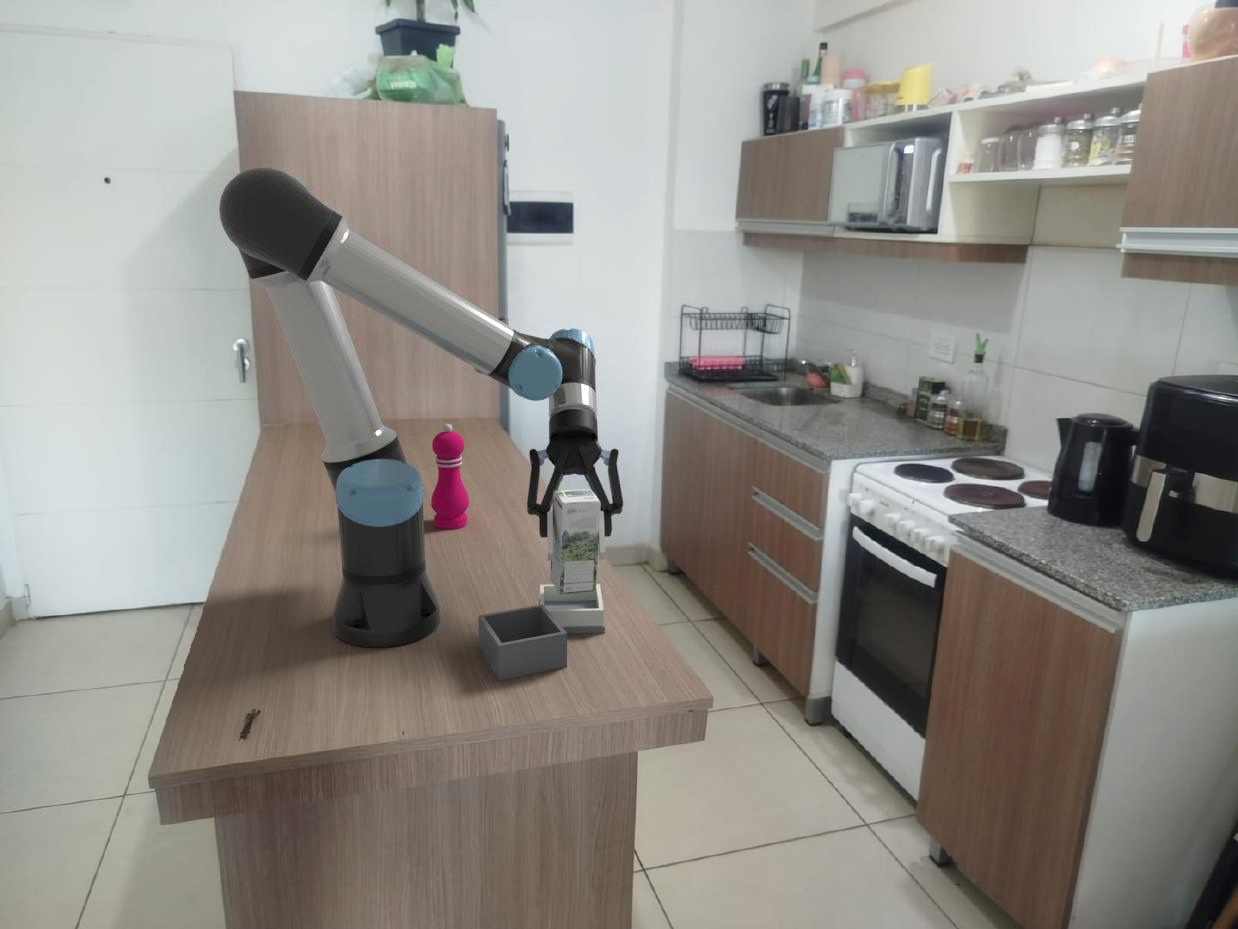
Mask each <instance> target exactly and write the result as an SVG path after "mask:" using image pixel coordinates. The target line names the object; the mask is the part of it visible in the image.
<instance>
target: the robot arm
mask: <svg viewBox="0 0 1238 929" xmlns="http://www.w3.org/2000/svg"><path fill="white" fill-rule="evenodd" d="M218 211H219V220H220V222H221V226H222V228H223V230H224V232H225V234H226V236H227V238H228V239H229V240H230V242H232V244H233V245H234V246H235V247H237V249H238V252H239V253H240V254H239V255H240V256H241V258H242V262H243V264H244V266H245V268H246V272H247V274H248V276H249V279H250V281H251V282H252V283H253V284H257V285H259V286H261V287H262V288H263V289H264V290H266V291H267V294H268V296H269V299H270V301H271V304H272V307H273V309H274V312H275V314H276V316H277V317H276V318H277V319H278V321H279V324H280V327H281V329H282V332H283V334H284V337H285V339H286V342H287V344H288V347H289V350H290V352H291V354H292V357H293V360H294V362H295V365H296V367H297V370H298V372H299V375H300V378H301V380H302V383H303V385H304V388H305V390H306V393H307V396H308V398H309V401H310V402H311V406H312V408H313V410H314V413H315V416H316V419H317V421H318V424H319V426H320V428H321V429H320V430H321V431H322V434H323V437H324V440H325V441H326V446H325V448H324V450H323V451H322V453H321V459H322V462H323V465H324V468H325V470H326V473H327V475H328V479H329V481H330V483H331V486H332V488H333V490H334V494H335V502H336V505H337V516H338V519H337V520H338V532H339V543H340V545H339V546H340V559H341V569H342V570H341V571H342V572H341V574H342V580H341V583H340V586H339V590H338V593H337V598H336V601H335V603H334V608H333V611H332V629H333V632H334V634H335V636H336V637H337V638H338V639H339V640H341V641H343V642H345V643H347V644H350V645H354V646H357V647H358V646H359V647H363V648H365V647H366V648H388V647H394V646H400V645H404V644H409V643H412V642H415V641H418V640H420V639H423V638H424V637H427V636H428V635H429V634H431V633H432V632H434V631H435V630H436V629H437V628H438V626H439V624H440V622H441V611H440V608H441V607H440V603H439V599H438V597H437V595H436V592H435V589H434V588H433V587H434V586H433V585H432V583H431V580H430V578H429V576H428V573H427V566H426V563H427V562H426V542H425V541H426V540H425V520H424V518H425V517H424V498H425V488H424V486H423V482H422V481H423V480H422V476H421V474H420V472H419V470H417V468H416V467H414V466H413V465H411V464H409V463H408V461H407V460H406V456H405V454H404V451H403V449H402V446H401V443H400V441H399V438H398V435H397V432H396V431H395V430H394V429H391V428H390V427H387V426H385V425H384V424H383V423H382V419H381V417H380V415H379V412H378V409H377V405H376V403H375V401H374V398H373V396H372V393H371V389H370V387H369V385H368V382H367V379H366V376H365V373H364V371H363V368H362V365H361V363H360V360H359V357H358V354H357V350H356V348H355V346H354V343H353V340H352V337H351V334H350V332H349V329H348V326H347V324H346V321H345V318H344V315H343V312H342V311H341V310H342V309H341V307H340V305H339V301H338V299H337V296H336V294H335V291H334V289H335V290H337V291H339V292H340V293H342V294H343V295H346V296H347V297H349V298H351V299H352V300H354V301H356V302H358V303H359V304H361V305H363V306H365V307H366V308H369V309H370V310H372V311H374V312H376V313H377V314H378V315H380V316H383V317H384V318H386V319H388V320H389V321H391V322H393V323H394V324H396V325H399V326H400V327H402V328H404V329H406V330H407V331H409V332H410V333H412V334H415V335H416V336H417V337H420V338H422V339H423V340H425V341H427V342H429V343H430V344H432V345H433V346H435V347H438V348H439V349H441V350H443V351H444V352H446V353H448V354H449V355H452V356H453V357H455V358H457V359H459V360H460V361H462V362H464V363H466V364H467V365H469V366H471V367H473V370H474V371H475V372H476V373H477V374H481V375H485V376H488V377H489V378H492V379H493V380H495V381H497V382H499V383H500V384H502V385H504V386H505V387H507V388H509V389H511V390H512V391H513V393H515V395H517V396H519V397H521V398H523V399H526V400H529V401H532V402H535V401H539V402H540V401H543V400H546V399H548V417H549V420H548V421H549V422H548V445H547V446H546V448H545V449H542V450H541V449H540V450H537V449H536V448H531V449H530V450H529V453H528V454H529V455H528V456H529V457H528V458H529V465H530V467H531V470H530V475H529V484H528V491H527V493H528V494H527V502H526V508H527V509H526V512H527V513H528V515H530V516H532V515H534V516H537V517H538V518H539V520H538V523H539V528H538V529H539V530H538V531H539V536H540V538H547V561H549V562H551V561H553V511H551V509H552V507H553V492H554V491H559V487H560V485H561V482H562V481H563V479H564V476H571V475H578V476H584V478H585V480H586V482H587V483H588V486H589V489H590V490H591V491H592V492H593V493H594V494H595V495H596V496H597V498H598V499H599V501H600V502H601V506H600V525H599V542H598V560H599V561H601V560H602V561H605V556H606V538H605V537H607V538H608V537H611V535H612V531H613V526H612V524H613V521H612V520H613V519H612V517H613V516H615V515H620V514H622V511H623V508H624V499H623V494H622V487H621V481H620V475H619V471H618V465H617V464H618V460H619V453H620V452H619V449H617V448H612V449H611V450H607V449H604V448H602V446H601V445H600V442H599V433H598V432H599V431H598V430H599V429H598V426H599V425H598V419H597V416H598V407H597V404H598V401H597V391H596V389H597V388H596V387H597V386H596V364H597V360H596V352H595V347H594V346H595V345H594V342H593V339H592V337H591V336H590V335H589V334H588V333H587V332H585V331H584V330H582V329H579V328H573V327H572V328H570V329H566V328H562V329H558V330H557V331H555V332H553V333H552V334H551V335H550V336H549V338H545V337H539V336H535V335H530V334H527V333H521V332H520V331H517V330H516V329H513V328H512V327H511V326H510V325H508V324H506V323H504V322H503V321H501V320H499V319H498V318H496V317H495V316H493V315H491V314H490V313H488V312H486V311H485V310H483V309H482V308H479V307H478V306H476V305H475V304H473V303H472V302H470V301H468V300H466V299H464V298H463V297H462V296H460V295H458V294H456V293H455V292H454V291H452V290H450V289H448V288H446V286H443V285H442V284H440V283H439V282H437V281H435V280H433V279H432V278H430V277H428V276H427V275H425V274H424V273H422V272H421V271H419V270H417V269H416V268H413V267H412V266H410V265H409V264H407V263H405V262H404V261H402V260H400V259H399V258H397V257H395V256H394V255H392V254H391V253H389V252H387V251H386V250H384V249H382V248H381V247H379V246H377V245H376V244H373V243H372V242H371V241H370V240H369V241H368V240H367V239H365V238H364V237H362V236H361V235H358V234H357V233H356V232H355V231H353V230H351V229H350V228H349V227H348V223H347V221H346V218H345V217H344V216H343V215H341V214H339V213H337V212H336V211H335V210H333V209H332V208H330V207H328V206H327V205H325V204H324V203H323V202H322V201H320V200H319V199H318V198H317V197H316V196H314V195H313V194H312V193H310V192H309V190H308V189H307V187H306V186H305V185H304V184H303V183H302V182H301V181H299V179H297V178H296V177H294V176H292V175H290V174H288V173H286V172H285V171H281V170H278V169H274V168H270V167H257V168H256V167H255V168H250V169H246V170H244V171H242V172H240V173H238V174H237V175H235V176H234V177H232V179H231V180H229V182H228V183H227V184H226V185H225V187H224V189H223V191H222V194H221V197H220V200H219V210H218ZM546 459H548V460H549V462H550V463H551V464H552V465H553V466H554V469H553V472H552V474H551V477H550V480H549V483H548V485H547V488H546V490H545V492H544V495H543V497H542V500H541V501H540V502H541V503H537V501H538V493H539V486H540V485H539V484H540V476H541V466H544V464H545V460H546ZM599 459H602V460H603V464H604V465H605V466H607V475H608V482H609V489H610V493H611V494H610V495H611V499H612V500H611V501H612V502H611V503H610V501H609V499H608V496H607V494H606V491H605V490H604V487H603V484H602V483H601V480H600V478H599V476H598V474H597V471H596V468H595V465H596V464H597V462H598V461H599Z"/></svg>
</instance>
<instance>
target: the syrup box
mask: <svg viewBox="0 0 1238 929" xmlns="http://www.w3.org/2000/svg"><path fill="white" fill-rule="evenodd" d="M600 506H601V502H600V501H599V499H598V498H597V496H596V495H595V494H594V493H593V492H592V490H591V488H584V489H583V488H582V489H566V490H557V491H554V492H553V503H552V512H553V561H550V575H549V576H550V577H549V578H550V581H551V583H552V585H554V586H555V588H556V589H557V591H558V592H559V594H572V593H583V592H594V591H596V584H597V578H598V575H597V574H598V560H599V544H598V542H599V525H600Z"/></svg>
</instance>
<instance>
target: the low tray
mask: <svg viewBox="0 0 1238 929" xmlns="http://www.w3.org/2000/svg"><path fill="white" fill-rule="evenodd" d="M538 605H544V606H545V608H546V609H547V610H548V611H549V612H550V613H551V615H552V616H553V617H554V618H555V619H556V621H557V622H558V623H559V624H560V625H561V626H562V628H563V629H564V630H565V631H566V632H567V634H605V632H606V631H605V630H606V625H605V624H606V623H605V619H604V618H605V616H604V614H605V613H604V612H605V610H604V603H603V596H602V589H601V584H600V583H596V591H594V592H583V593H572V594H559V592H558V591H557V589H556V588H555V586H554V584H539V599H538Z"/></svg>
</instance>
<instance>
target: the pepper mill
mask: <svg viewBox="0 0 1238 929" xmlns="http://www.w3.org/2000/svg"><path fill="white" fill-rule="evenodd" d="M442 430H443V431H441V432H439V433H437V434H436V435H435V436H433V439H432V443H431V448H432V451H433V453H434V454H435V455H436V457H435V465H436V466H437V469H438V470H437V471H438V474H437V476H438V478H437V482H436V485H435V488H434V490H433V492H432V496H431V499H430V502H431V503H430V505H431V509H432V510H433V512H435V515H434V516H433V519H434V526H435V527H436V528H438V529H442V530H457V529H461V528H464V527H466V526H467V524H468V514H467V513H466V510H467V509H469V506H470V500H469V499H470V498H469V495H468V490H467V489H466V487H465V485H464V482H463V480H462V476H461V465H463V461H462V460H463V457H462V453H463V452H464V451H465V440H464V439H463V437H462V436H461V434H459V433H458V432H456V431H453V425H452V424H450V423H445V424H444V425H443V427H442Z"/></svg>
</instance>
